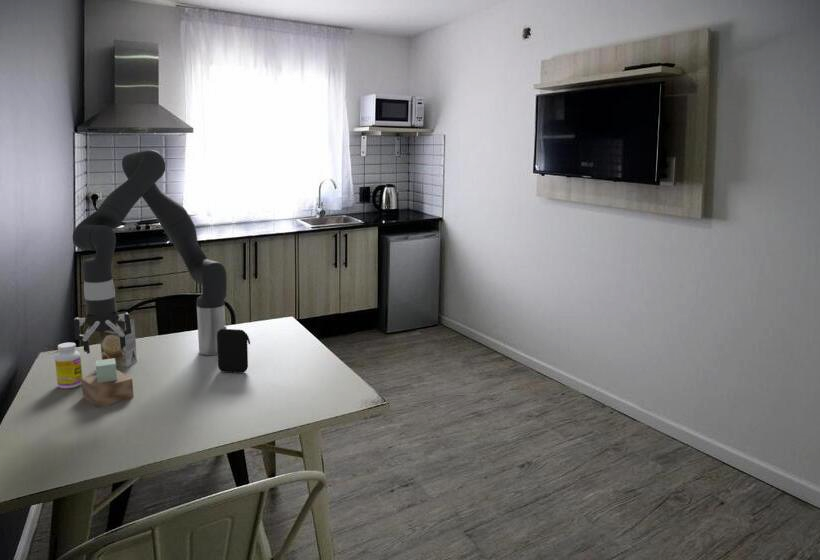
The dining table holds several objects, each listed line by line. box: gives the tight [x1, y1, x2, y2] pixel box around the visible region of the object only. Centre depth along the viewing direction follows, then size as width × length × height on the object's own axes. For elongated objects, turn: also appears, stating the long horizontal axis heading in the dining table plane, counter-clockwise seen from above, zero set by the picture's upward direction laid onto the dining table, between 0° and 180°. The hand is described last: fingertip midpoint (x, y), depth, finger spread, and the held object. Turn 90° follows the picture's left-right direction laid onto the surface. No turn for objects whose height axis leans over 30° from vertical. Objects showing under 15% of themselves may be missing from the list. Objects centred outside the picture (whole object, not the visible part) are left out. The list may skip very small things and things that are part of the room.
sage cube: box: [95, 358, 117, 383], centre depth 169 cm, size 5×5×5 cm
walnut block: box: [81, 369, 134, 409], centre depth 170 cm, size 10×10×6 cm
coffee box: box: [99, 315, 138, 368], centre depth 195 cm, size 9×6×16 cm
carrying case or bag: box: [217, 328, 251, 373], centre depth 190 cm, size 11×3×15 cm, turn 89°
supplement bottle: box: [54, 342, 83, 389], centre depth 176 cm, size 7×7×13 cm
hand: (105, 350), depth 167 cm, fingers open, 8 cm apart
